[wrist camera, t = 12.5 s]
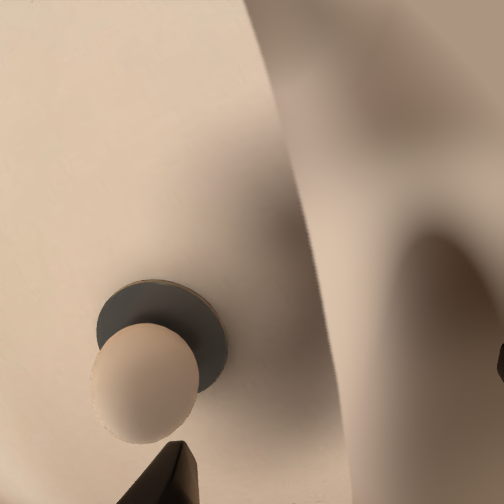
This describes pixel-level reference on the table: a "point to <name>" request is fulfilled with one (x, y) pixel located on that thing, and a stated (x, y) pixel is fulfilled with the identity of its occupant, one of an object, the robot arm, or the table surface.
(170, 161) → the table surface
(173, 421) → the egg
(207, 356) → the coaster
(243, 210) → the table surface
